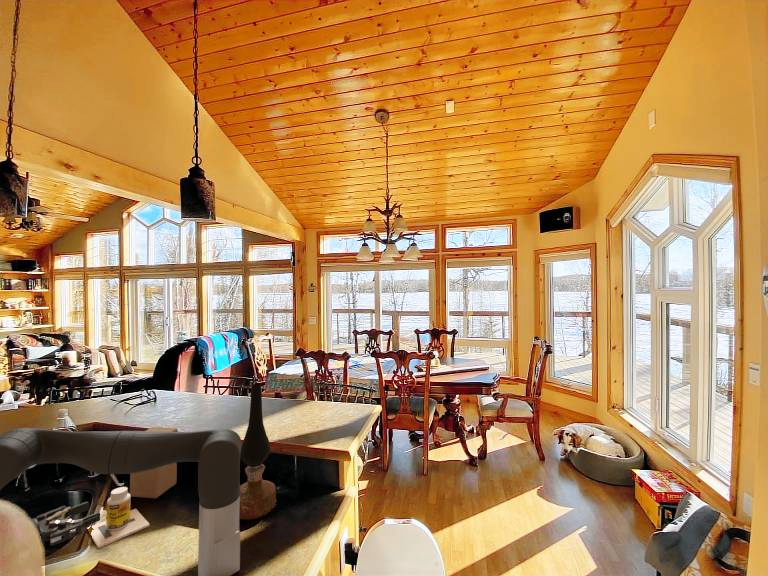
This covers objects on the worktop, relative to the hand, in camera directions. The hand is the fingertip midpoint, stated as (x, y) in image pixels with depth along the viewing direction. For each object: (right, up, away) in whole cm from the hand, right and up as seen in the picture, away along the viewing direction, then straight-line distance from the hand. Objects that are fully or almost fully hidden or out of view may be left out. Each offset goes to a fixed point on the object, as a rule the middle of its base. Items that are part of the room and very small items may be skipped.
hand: (93, 510), depth 98 cm
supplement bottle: (+3, -8, +5) cm, 10 cm away
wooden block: (0, -9, +25) cm, 27 cm away
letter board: (+3, -8, +5) cm, 10 cm away
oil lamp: (+39, -9, +16) cm, 43 cm away
